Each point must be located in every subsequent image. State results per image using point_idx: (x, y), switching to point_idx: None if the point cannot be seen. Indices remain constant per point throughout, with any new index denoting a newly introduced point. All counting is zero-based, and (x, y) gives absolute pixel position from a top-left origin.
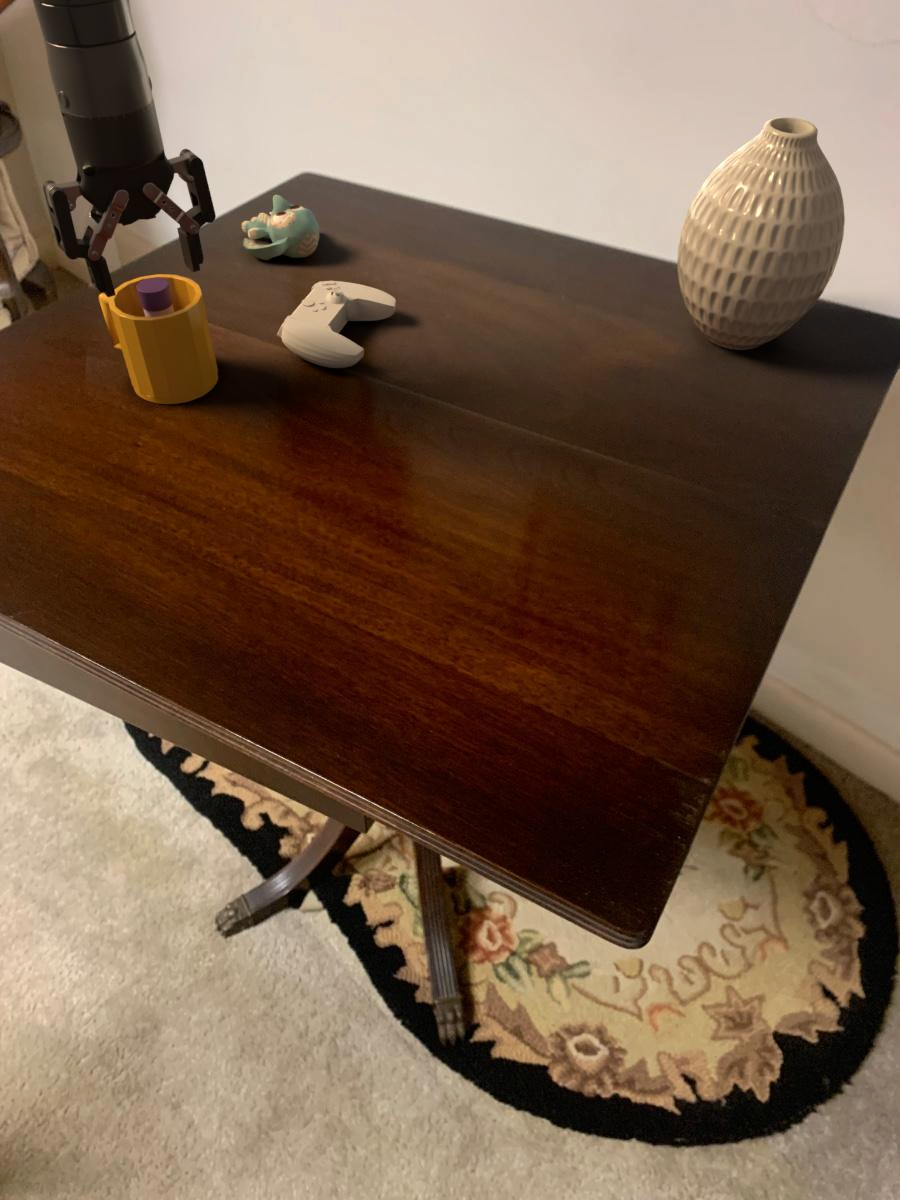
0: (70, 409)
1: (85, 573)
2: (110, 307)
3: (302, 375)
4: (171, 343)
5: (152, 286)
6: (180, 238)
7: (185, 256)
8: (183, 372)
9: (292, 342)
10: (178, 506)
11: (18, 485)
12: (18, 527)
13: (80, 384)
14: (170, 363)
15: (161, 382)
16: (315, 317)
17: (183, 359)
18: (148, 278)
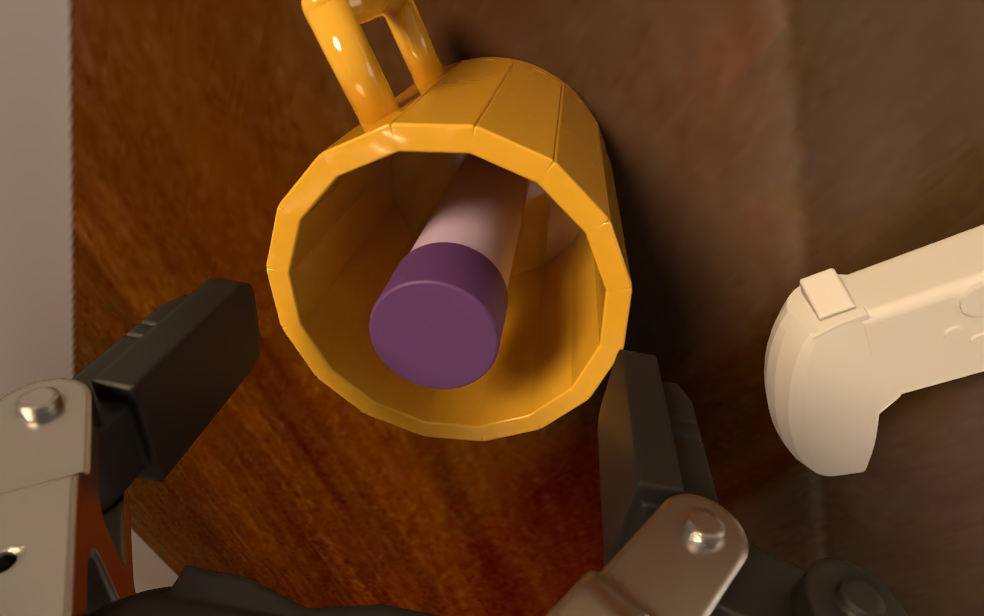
0: (219, 108)
1: (169, 477)
2: (268, 268)
3: (728, 363)
4: None
5: (427, 347)
6: (628, 454)
7: (615, 403)
8: None
9: (774, 364)
10: (320, 468)
11: (88, 273)
12: (86, 359)
13: (268, 8)
14: None
15: None
16: (914, 358)
17: None
18: (444, 287)
